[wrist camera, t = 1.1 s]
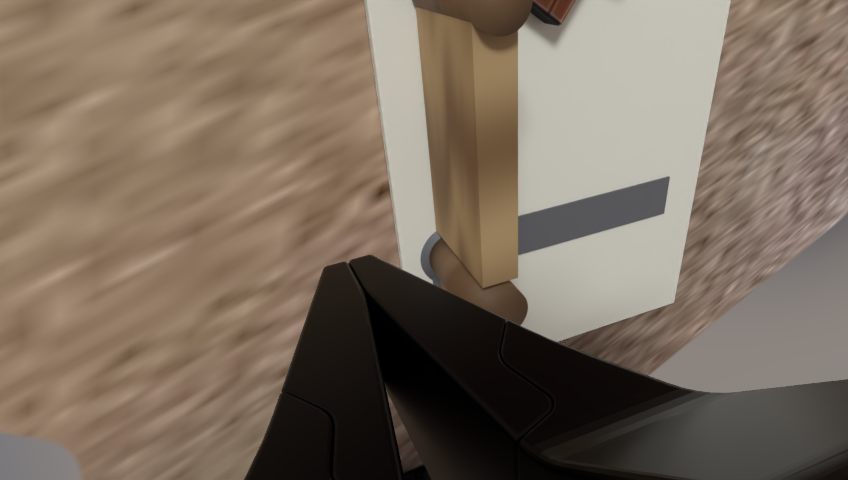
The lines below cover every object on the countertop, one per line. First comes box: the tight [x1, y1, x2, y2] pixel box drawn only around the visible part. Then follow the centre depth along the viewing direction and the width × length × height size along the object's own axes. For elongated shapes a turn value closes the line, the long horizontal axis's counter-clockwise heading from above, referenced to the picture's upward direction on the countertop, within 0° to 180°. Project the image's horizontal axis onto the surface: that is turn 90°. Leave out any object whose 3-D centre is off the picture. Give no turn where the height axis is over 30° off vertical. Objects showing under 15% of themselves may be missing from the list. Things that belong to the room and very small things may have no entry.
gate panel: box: [412, 0, 533, 288], centre depth 19 cm, size 11×2×6 cm, turn 6°
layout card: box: [364, 0, 731, 342], centre depth 26 cm, size 20×17×1 cm
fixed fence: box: [429, 238, 528, 325], centre depth 25 cm, size 9×2×5 cm, turn 6°
